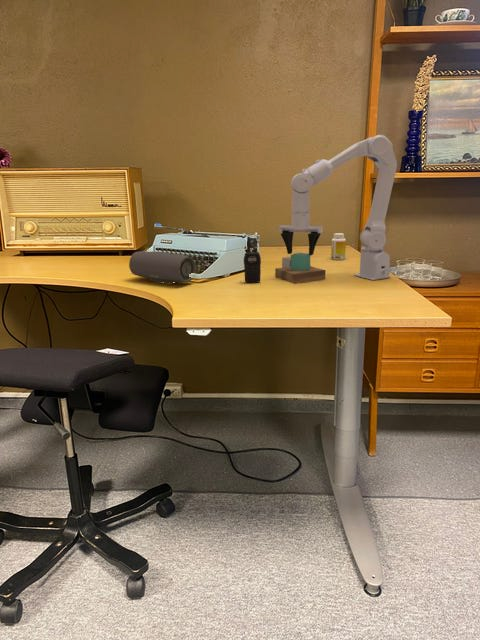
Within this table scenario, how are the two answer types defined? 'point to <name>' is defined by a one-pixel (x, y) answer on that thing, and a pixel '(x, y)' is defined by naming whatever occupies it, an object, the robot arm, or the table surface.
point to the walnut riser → (300, 274)
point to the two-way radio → (252, 264)
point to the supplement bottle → (338, 247)
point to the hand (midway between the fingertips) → (300, 254)
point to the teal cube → (300, 261)
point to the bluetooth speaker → (162, 266)
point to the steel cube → (286, 262)
